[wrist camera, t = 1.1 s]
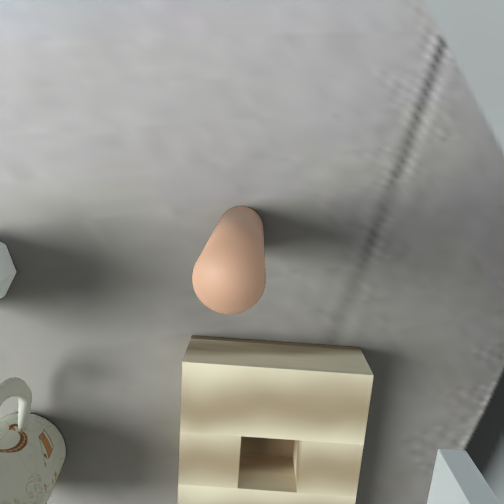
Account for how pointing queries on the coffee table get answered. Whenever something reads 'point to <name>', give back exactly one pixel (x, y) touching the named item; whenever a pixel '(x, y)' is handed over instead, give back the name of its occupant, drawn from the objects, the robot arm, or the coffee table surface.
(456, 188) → the coffee table surface
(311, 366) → the bore block
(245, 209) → the pin
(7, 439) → the mug
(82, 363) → the coffee table surface
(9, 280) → the cup
